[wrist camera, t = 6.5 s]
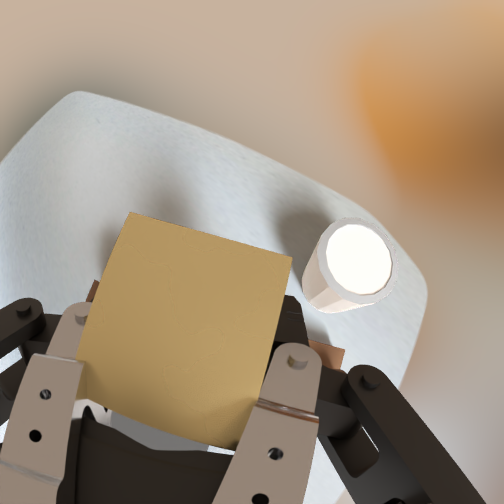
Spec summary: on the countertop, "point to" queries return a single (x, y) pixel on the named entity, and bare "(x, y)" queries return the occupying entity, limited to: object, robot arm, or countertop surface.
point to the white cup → (350, 267)
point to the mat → (153, 435)
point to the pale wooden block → (183, 329)
